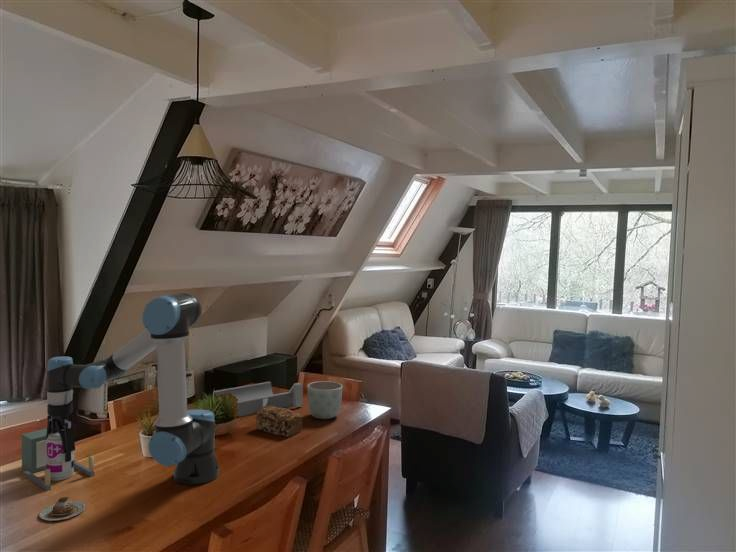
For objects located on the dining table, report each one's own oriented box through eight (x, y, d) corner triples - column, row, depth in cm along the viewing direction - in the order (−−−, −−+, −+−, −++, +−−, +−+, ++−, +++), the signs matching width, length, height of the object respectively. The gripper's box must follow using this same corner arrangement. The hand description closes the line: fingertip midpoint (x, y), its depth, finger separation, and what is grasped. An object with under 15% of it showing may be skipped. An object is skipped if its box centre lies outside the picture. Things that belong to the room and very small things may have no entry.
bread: (254, 430, 239) (255, 407, 239) (270, 423, 248) (271, 402, 248) (287, 438, 230) (288, 415, 229) (303, 431, 239) (303, 409, 238)
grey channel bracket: (268, 394, 298) (268, 372, 297) (302, 408, 274) (303, 384, 274) (212, 405, 275) (213, 381, 275) (244, 421, 252) (245, 394, 251)
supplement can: (61, 482, 182) (61, 438, 181) (40, 480, 183) (40, 436, 183) (79, 473, 190) (79, 431, 189) (58, 470, 191) (58, 428, 191)
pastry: (74, 523, 157) (74, 508, 156) (30, 524, 156) (30, 508, 155) (91, 504, 168) (91, 489, 168) (51, 504, 167) (51, 490, 167)
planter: (348, 415, 263) (349, 384, 262) (327, 424, 249) (328, 392, 248) (321, 409, 272) (321, 379, 271) (299, 417, 258) (300, 386, 257)
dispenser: (94, 475, 188) (94, 441, 188) (46, 491, 175) (46, 454, 175) (59, 456, 203) (59, 425, 203) (12, 469, 191) (12, 436, 190)
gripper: (86, 405, 182) (86, 471, 183) (57, 394, 195) (57, 455, 196) (63, 410, 176) (63, 478, 177) (34, 398, 188) (34, 462, 190)
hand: (60, 466), depth 186 cm, fingers open, 9 cm apart
